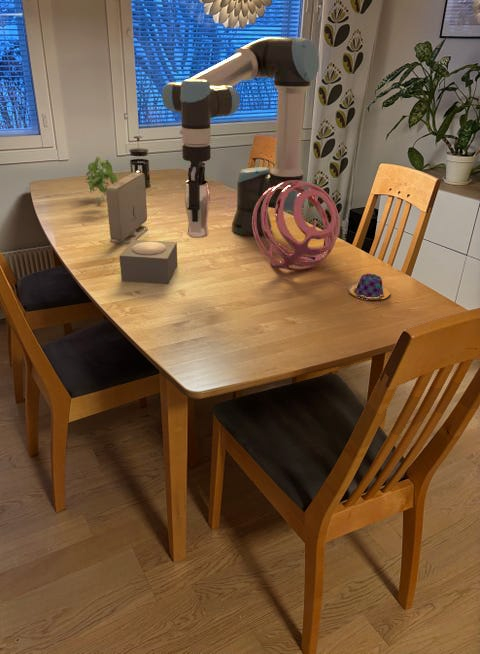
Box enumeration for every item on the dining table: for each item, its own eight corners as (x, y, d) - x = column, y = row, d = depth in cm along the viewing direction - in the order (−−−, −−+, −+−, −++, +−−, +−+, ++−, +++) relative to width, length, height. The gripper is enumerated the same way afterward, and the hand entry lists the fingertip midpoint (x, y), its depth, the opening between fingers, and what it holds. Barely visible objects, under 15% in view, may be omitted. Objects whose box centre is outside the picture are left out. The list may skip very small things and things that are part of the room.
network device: (127, 247, 177) (122, 189, 167) (103, 245, 178) (97, 187, 168) (153, 225, 199) (150, 172, 189) (131, 223, 200) (127, 171, 190)
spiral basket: (236, 191, 170) (277, 156, 146) (307, 206, 182) (356, 176, 158) (235, 274, 166) (277, 252, 142) (308, 283, 178) (358, 264, 154)
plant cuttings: (116, 207, 242) (73, 180, 230) (136, 177, 238) (94, 147, 227) (125, 230, 213) (77, 200, 201) (148, 196, 209) (100, 164, 198)
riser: (177, 266, 163) (176, 240, 159) (168, 284, 151) (167, 257, 147) (134, 263, 164) (132, 238, 160) (121, 281, 152) (119, 254, 148)
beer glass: (210, 230, 152) (209, 179, 144) (209, 238, 146) (209, 185, 138) (186, 230, 151) (185, 179, 144) (185, 238, 145) (183, 185, 138)
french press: (127, 184, 253) (123, 135, 242) (145, 182, 258) (142, 134, 246) (137, 189, 244) (134, 139, 233) (155, 187, 249) (153, 137, 238)
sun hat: (365, 305, 143) (367, 288, 141) (340, 288, 153) (342, 272, 150) (398, 298, 148) (401, 281, 145) (372, 282, 157) (375, 266, 155)
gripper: (188, 137, 145) (190, 217, 156) (175, 150, 128) (178, 238, 139) (215, 138, 144) (215, 218, 156) (205, 151, 127) (205, 240, 139)
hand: (197, 227), depth 147 cm, fingers closed on beer glass, 6 cm apart
